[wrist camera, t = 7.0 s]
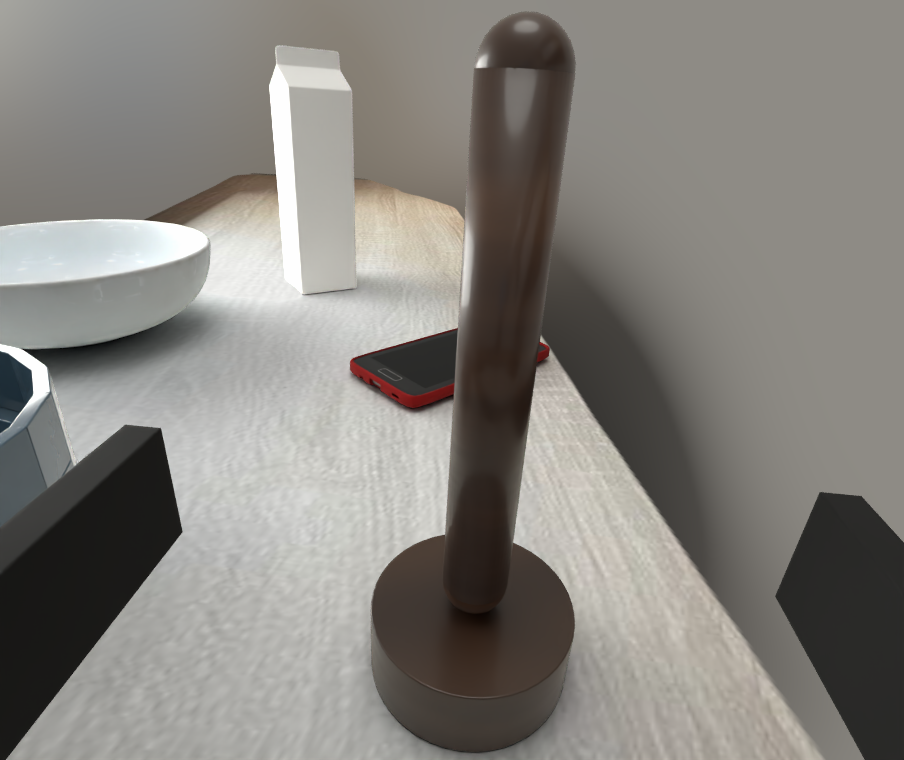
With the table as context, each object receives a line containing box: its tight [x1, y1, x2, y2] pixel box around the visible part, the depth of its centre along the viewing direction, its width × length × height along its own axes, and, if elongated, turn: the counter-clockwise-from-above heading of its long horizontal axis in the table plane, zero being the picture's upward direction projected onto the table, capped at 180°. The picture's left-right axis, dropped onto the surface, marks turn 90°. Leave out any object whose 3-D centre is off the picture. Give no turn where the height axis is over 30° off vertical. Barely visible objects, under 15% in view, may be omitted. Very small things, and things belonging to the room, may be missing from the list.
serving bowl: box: [0, 220, 210, 349], centre depth 44 cm, size 21×21×7 cm
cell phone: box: [350, 328, 550, 408], centre depth 42 cm, size 8×15×1 cm, turn 133°
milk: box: [269, 45, 356, 294], centre depth 55 cm, size 6×6×22 cm
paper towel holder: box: [371, 12, 575, 752], centre depth 16 cm, size 7×7×20 cm
